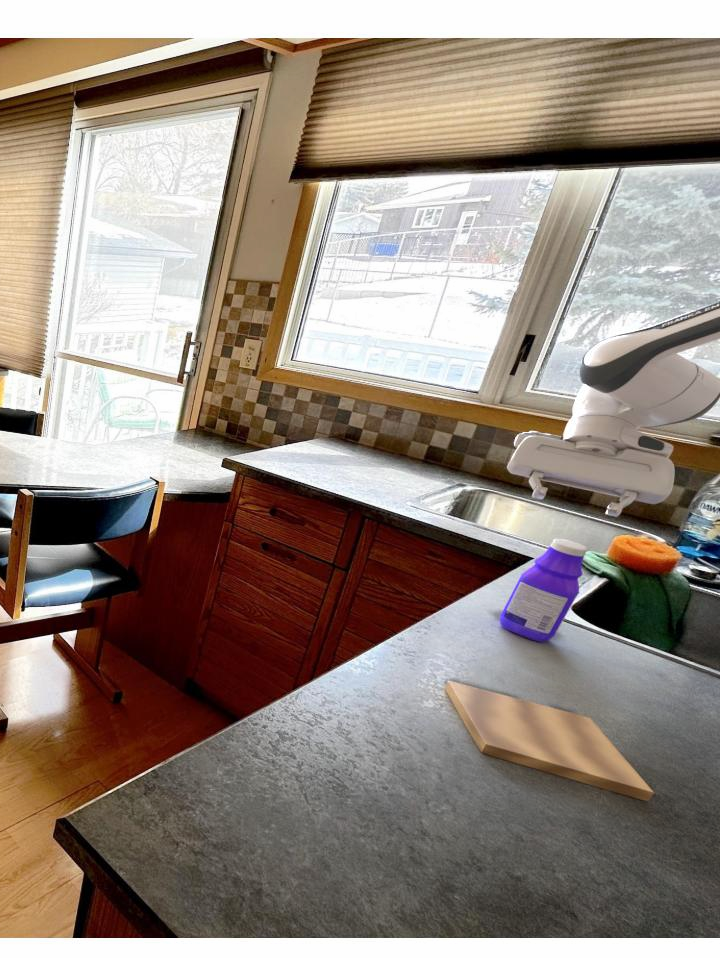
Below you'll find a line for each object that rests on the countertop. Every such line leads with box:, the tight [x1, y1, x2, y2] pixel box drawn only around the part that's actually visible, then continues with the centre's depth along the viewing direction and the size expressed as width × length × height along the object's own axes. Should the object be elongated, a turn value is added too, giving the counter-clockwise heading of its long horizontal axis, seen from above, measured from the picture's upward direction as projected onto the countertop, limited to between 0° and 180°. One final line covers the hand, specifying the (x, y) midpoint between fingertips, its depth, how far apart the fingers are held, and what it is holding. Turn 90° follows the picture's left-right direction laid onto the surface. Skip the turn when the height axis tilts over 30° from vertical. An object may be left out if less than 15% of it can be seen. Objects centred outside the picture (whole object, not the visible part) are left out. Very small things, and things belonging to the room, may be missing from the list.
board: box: [444, 680, 655, 803], centre depth 81 cm, size 16×14×2 cm
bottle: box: [499, 538, 588, 643], centre depth 103 cm, size 7×6×17 cm
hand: (574, 505), depth 107 cm, fingers open, 8 cm apart
